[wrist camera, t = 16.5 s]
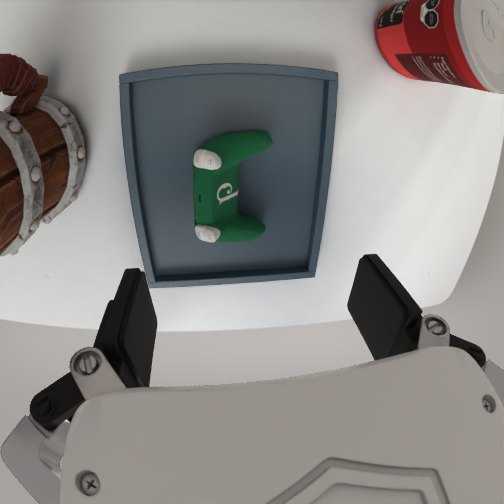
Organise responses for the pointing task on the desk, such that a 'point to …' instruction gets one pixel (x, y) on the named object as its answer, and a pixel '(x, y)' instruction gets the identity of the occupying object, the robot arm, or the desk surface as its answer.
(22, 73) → the mug
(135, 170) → the tray
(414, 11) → the canned food
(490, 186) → the desk surface
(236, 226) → the gaming controller
